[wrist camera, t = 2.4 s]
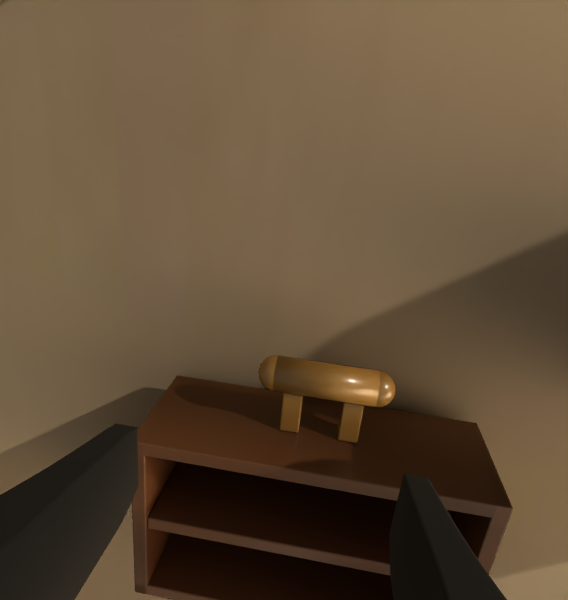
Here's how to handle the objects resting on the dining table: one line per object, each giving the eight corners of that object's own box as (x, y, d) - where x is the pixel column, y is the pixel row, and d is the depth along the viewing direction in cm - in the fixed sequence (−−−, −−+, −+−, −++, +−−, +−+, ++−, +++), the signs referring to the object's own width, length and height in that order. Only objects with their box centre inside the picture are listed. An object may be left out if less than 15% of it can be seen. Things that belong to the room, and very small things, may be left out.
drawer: (458, 660, 19) (540, 435, 15) (134, 592, 20) (127, 368, 16) (437, 555, 23) (495, 362, 19) (175, 505, 25) (177, 315, 21)
